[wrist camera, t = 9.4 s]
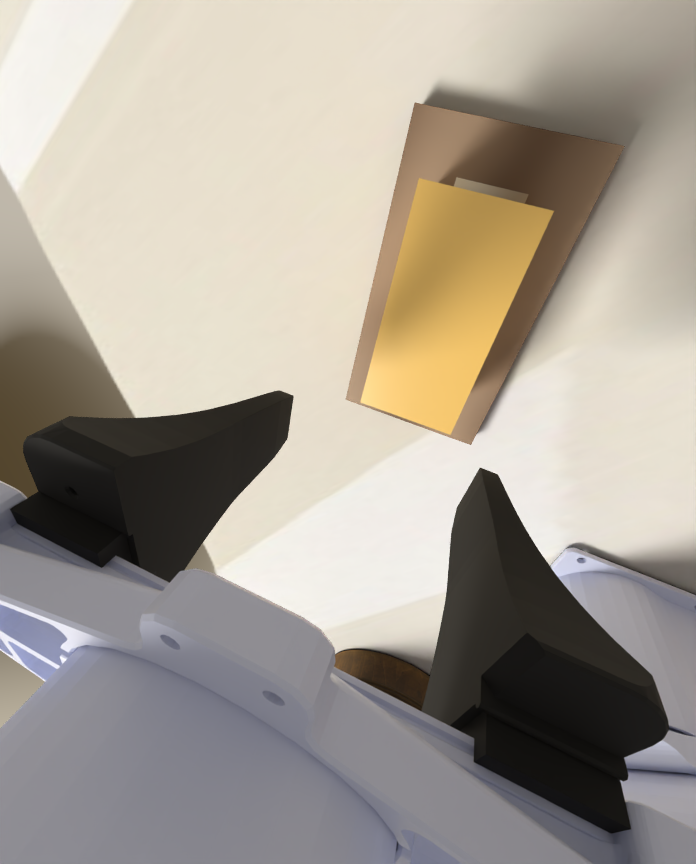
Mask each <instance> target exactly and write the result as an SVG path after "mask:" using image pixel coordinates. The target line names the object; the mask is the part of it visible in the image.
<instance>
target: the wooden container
mask: <svg viewBox="0 0 696 864" xmlns="http://www.w3.org/2000/svg"><path fill="white" fill-rule="evenodd" d="M335 661H336V662H335V665H334V667H335V668H337V669H339V670H341V671H343V672H345V673H347V674H349V675H351V676H353V677H355V678H357V679H359V680H361V681H363V682H365V683H367V684H369V685H370V686H372V687H374V688H376V689H378V690H380V691H382V692H384V693H386V694H388V695H390V696H392V697H394V698H396V699H398V700H400V701H402V702H404V703H406V704H408V705H410V706H412V707H414V708H416V709H417V710H419V711H422V707H423V703H424V699H425V695H426V691H427V687H428V682H429V678H430V676H428V675H427V674H425V673H424V672H423V671H421V670H419V669H418V668H416V667H414V666H412V665H410V664H408V663H406V662H404V661H402V660H400V659H397V658H394V657H392V656H389V655H386V654H382V653H378V652H373V651H367V650H347V651H343V652H340V653H338V654H336V655H335Z"/></svg>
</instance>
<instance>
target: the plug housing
mask: <svg viewBox="0 0 696 864" xmlns="http://www.w3.org/2000/svg"><path fill="white" fill-rule="evenodd" d="M553 212H554V211H552V210H548V209H544V208H540V207H536V206H532V205H528V204H523V203H519V202H515V201H511V200H507V199H503V198H499V197H495V196H491V195H487V194H482V193H478V192H474V191H470V190H466V189H462V188H458V187H454V186H450V185H445V184H441V183H437V182H433V181H429V180H425V179H421V178H419V180H418V184H417V187H416V191H415V195H414V199H413V203H412V207H411V210H410V214H409V218H408V222H407V226H406V230H405V233H404V237H403V241H402V245H401V249H400V252H399V256H398V260H397V264H396V268H395V272H394V275H393V279H392V283H391V287H390V291H389V294H388V298H387V302H386V306H385V310H384V314H383V317H382V321H381V325H380V329H379V333H378V337H377V340H376V344H375V348H374V352H373V356H372V359H371V363H370V367H369V371H368V375H367V379H366V382H365V386H364V390H363V394H362V398H361V401H360V402H361V403H364V404H366V405H369V406H372V407H375V408H377V409H380V410H383V411H386V412H388V413H391V414H394V415H397V416H399V417H402V418H405V419H408V420H410V421H413V422H416V423H419V424H421V425H424V426H427V427H430V428H433V429H435V430H438V431H441V432H444V433H446V434H449V435H451V433H452V431H453V428H454V426H455V424H456V422H457V420H458V418H459V415H460V413H461V411H462V409H463V407H464V405H465V402H466V400H467V398H468V396H469V394H470V392H471V389H472V387H473V385H474V383H475V381H476V379H477V377H478V374H479V372H480V370H481V368H482V366H483V364H484V361H485V359H486V357H487V355H488V353H489V351H490V348H491V346H492V344H493V342H494V340H495V338H496V336H497V333H498V331H499V329H500V327H501V325H502V323H503V320H504V318H505V316H506V314H507V312H508V310H509V307H510V305H511V303H512V301H513V299H514V297H515V294H516V292H517V290H518V288H519V286H520V284H521V282H522V279H523V277H524V275H525V273H526V271H527V269H528V266H529V264H530V262H531V260H532V258H533V256H534V253H535V251H536V249H537V247H538V245H539V243H540V240H541V238H542V236H543V234H544V232H545V230H546V228H547V225H548V223H549V221H550V219H551V217H552V215H553Z"/></svg>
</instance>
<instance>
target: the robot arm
mask: <svg viewBox="0 0 696 864" xmlns="http://www.w3.org/2000/svg"><path fill="white" fill-rule="evenodd" d="M292 403H293V396H292V395H290V394H287V393H285V392H282V391H274V392H271V393H267V394H264V395H260V396H257V397H254V398H250V399H247V400H244V401H240V402H237V403H233V404H229V405H225V406H221V407H217V408H213V409H209V410H204V411H199V412H193V413H187V414H180V415H171V416H160V417H148V418H92V417H90V418H89V417H73V416H69V417H67V418H65V419H63V420H61V421H59V422H57V423H54V424H52V425H50V426H48V427H46V428H44V429H42V430H40V431H38V432H36V433H34V434H32V435H30V436H28V437H27V438H26V440H25V441H24V445H23V453H24V456H25V459H26V462H27V465H28V467H29V470H30V472H31V474H32V477H33V479H34V482H35V484H36V486H37V489H38V491H39V492H37V493H35V494H34V495H32V496H31V497H29V498H27V497H26V496H25V495H24V494H23V493H22V492H20V491H19V490H17V489H16V488H14V487H12V486H10V485H8V484H6V483H4V482H2V481H0V650H1V651H2V652H4V653H5V654H6V655H8V656H9V657H11V658H12V659H14V660H15V661H16V662H18V663H19V664H21V665H23V666H24V667H25V668H27V669H28V670H29V671H31V672H32V673H34V674H35V675H37V676H38V677H39V678H41V679H42V680H44V681H45V682H44V684H43V685H42V686H41V687H40V688H39V689H38V690H37V691H36V692H35V693H34V694H33V695H32V696H31V697H30V698H29V699H28V700H27V701H26V702H25V703H24V704H23V705H22V706H21V707H20V708H19V710H18V711H17V712H16V713H15V714H14V715H13V716H12V717H11V718H10V719H9V720H8V721H7V722H6V723H5V724H4V725H3V726H2V727H1V728H0V864H696V595H694V594H691V593H689V592H686V591H684V590H681V589H679V588H676V587H674V586H671V585H668V584H666V583H663V582H661V581H658V580H656V579H653V578H651V577H648V576H646V575H643V574H640V573H638V572H635V571H633V570H630V569H628V568H625V567H623V566H620V565H618V564H615V563H612V562H610V561H607V560H605V559H602V558H600V557H597V556H595V555H592V554H590V553H587V552H584V551H582V550H579V549H577V548H567V549H566V550H564V551H563V553H562V554H561V555H560V556H559V557H558V558H557V559H556V560H555V561H554V562H553V564H552V565H551V566H549V564H548V563H547V562H546V560H545V559H544V557H543V556H542V555H541V553H540V552H539V550H538V549H537V547H536V546H535V544H534V542H533V541H532V539H531V537H530V536H529V534H528V532H527V531H526V529H525V527H524V526H523V524H522V522H521V520H520V518H519V516H518V515H517V513H516V511H515V509H514V507H513V505H512V503H511V501H510V499H509V497H508V495H507V493H506V491H505V488H504V486H503V484H502V482H501V480H500V478H499V476H498V474H495V473H493V472H490V471H487V470H485V469H482V468H480V469H479V471H478V472H477V474H476V476H475V477H474V479H473V481H472V483H471V484H470V486H469V488H468V490H467V491H466V493H465V495H464V496H463V498H462V500H461V502H460V503H459V505H458V507H457V510H456V514H455V518H454V523H453V528H452V533H451V544H450V557H449V570H448V583H447V593H446V601H445V606H444V611H443V617H442V622H441V627H440V632H439V637H438V642H437V646H436V651H435V656H434V660H433V665H432V669H431V673H430V678H429V682H428V687H427V691H426V695H425V699H424V703H423V707H422V711H419V710H417V709H416V708H414V707H412V706H410V705H408V704H406V703H404V702H402V701H400V700H398V699H396V698H394V697H392V696H390V695H388V694H386V693H384V692H382V691H380V690H378V689H376V688H374V687H372V686H370V685H369V684H367V683H365V682H363V681H361V680H359V679H357V678H355V677H353V676H351V675H349V674H347V673H345V672H343V671H341V670H339V669H337V668H335V667H334V665H335V662H336V661H335V650H334V647H333V645H332V643H331V642H330V640H329V639H328V638H327V637H326V635H325V634H324V633H323V632H322V630H321V629H319V628H318V627H316V626H315V625H313V624H312V623H310V622H309V621H307V620H306V619H304V618H303V617H301V616H299V615H297V614H295V613H293V612H291V611H289V610H287V609H285V608H283V607H281V606H279V605H277V604H275V603H273V602H271V601H269V600H267V599H265V598H263V597H261V596H259V595H256V594H254V593H252V592H250V591H248V590H246V589H244V588H242V587H240V586H238V585H236V584H234V583H232V582H230V581H228V580H226V579H224V578H222V577H220V576H218V575H216V574H214V573H210V572H207V571H204V570H201V569H190V570H184V569H185V568H186V566H187V565H188V563H189V562H190V561H191V559H192V557H193V556H194V555H195V553H196V551H197V550H198V548H199V547H200V546H201V544H202V543H203V541H204V540H205V539H206V537H207V536H208V534H209V533H210V532H211V530H212V529H213V527H214V526H215V525H216V523H217V522H218V521H219V519H220V518H221V517H222V515H223V514H224V513H225V511H226V510H227V509H228V507H229V506H230V505H231V503H232V502H233V501H234V500H235V499H236V498H237V497H238V495H239V494H240V493H241V492H242V491H243V490H244V489H245V488H246V487H247V486H248V485H249V484H250V483H251V482H252V481H253V480H254V479H255V477H256V476H257V475H258V474H259V473H260V472H261V471H262V470H263V469H264V468H265V467H266V466H267V465H268V464H269V463H270V461H271V460H272V459H273V458H274V457H275V456H276V454H277V453H278V451H279V450H280V449H281V447H282V446H283V444H284V443H285V441H286V440H287V438H288V431H289V424H290V417H291V410H292ZM580 558H582V559H580Z"/></svg>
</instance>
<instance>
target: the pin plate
mask: <svg viewBox="0 0 696 864" xmlns="http://www.w3.org/2000/svg"><path fill="white" fill-rule="evenodd" d="M624 147H625V146H622V145H617V144H612V143H607V142H602V141H597V140H593V139H588V138H583V137H578V136H573V135H569V134H564V133H559V132H554V131H549V130H544V129H540V128H535V127H530V126H525V125H520V124H516V123H511V122H506V121H501V120H496V119H491V118H487V117H482V116H477V115H472V114H467V113H463V112H458V111H453V110H448V109H443V108H438V107H434V106H429V105H424V104H419V103H415V104H414V108H413V112H412V117H411V121H410V125H409V130H408V134H407V138H406V143H405V147H404V151H403V155H402V160H401V164H400V168H399V173H398V177H397V181H396V186H395V190H394V194H393V198H392V203H391V207H390V211H389V216H388V220H387V224H386V229H385V233H384V237H383V241H382V246H381V250H380V254H379V259H378V263H377V267H376V272H375V276H374V280H373V284H372V289H371V293H370V297H369V302H368V306H367V310H366V314H365V319H364V323H363V327H362V332H361V336H360V340H359V345H358V349H357V353H356V357H355V362H354V366H353V370H352V375H351V379H350V383H349V388H348V392H347V396H346V400H349V401H351V402H354V403H357V404H360V405H362V406H365V407H368V408H371V409H373V410H376V411H379V412H382V413H384V414H387V415H390V416H393V417H395V418H398V419H401V420H404V421H406V422H409V423H412V424H415V425H417V426H420V427H423V428H426V429H428V430H431V431H434V432H437V433H439V434H442V435H445V436H448V437H450V438H453V439H456V440H459V441H461V442H464V443H467V444H470V445H471V444H472V442H473V440H474V438H475V436H476V434H477V432H478V430H479V428H480V426H481V424H482V422H483V420H484V418H485V416H486V414H487V413H488V411H489V409H490V407H491V405H492V403H493V401H494V399H495V397H496V395H497V393H498V391H499V389H500V387H501V385H502V383H503V381H504V380H505V378H506V376H507V374H508V372H509V370H510V368H511V366H512V364H513V362H514V360H515V358H516V356H517V354H518V352H519V350H520V348H521V347H522V345H523V343H524V341H525V339H526V337H527V335H528V333H529V331H530V329H531V327H532V325H533V323H534V321H535V319H536V317H537V315H538V314H539V312H540V310H541V308H542V306H543V304H544V302H545V300H546V298H547V296H548V294H549V292H550V290H551V288H552V286H553V284H554V282H555V281H556V279H557V277H558V275H559V273H560V271H561V269H562V267H563V265H564V263H565V261H566V259H567V257H568V255H569V253H570V251H571V249H572V248H573V246H574V244H575V242H576V240H577V238H578V236H579V234H580V232H581V230H582V228H583V226H584V224H585V222H586V220H587V218H588V216H589V215H590V213H591V211H592V209H593V207H594V205H595V203H596V201H597V199H598V197H599V195H600V193H601V191H602V189H603V187H604V185H605V183H606V182H607V180H608V178H609V176H610V174H611V172H612V170H613V168H614V166H615V164H616V162H617V160H618V158H619V156H620V154H621V152H622V150H623V149H624ZM419 178H421V179H425V180H429V181H433V182H437V183H441V184H445V185H450V186H454V187H458V188H462V189H466V190H470V191H474V192H478V193H482V194H487V195H491V196H495V197H499V198H503V199H507V200H511V201H515V202H519V203H523V204H528V205H532V206H536V207H540V208H544V209H548V210H552V211H554V212H553V215H552V217H551V219H550V221H549V223H548V225H547V228H546V230H545V232H544V234H543V236H542V238H541V240H540V243H539V245H538V247H537V249H536V251H535V253H534V256H533V258H532V260H531V262H530V264H529V266H528V269H527V271H526V273H525V275H524V277H523V279H522V282H521V284H520V286H519V288H518V290H517V292H516V294H515V297H514V299H513V301H512V303H511V305H510V307H509V310H508V312H507V314H506V316H505V318H504V320H503V323H502V325H501V327H500V329H499V331H498V333H497V336H496V338H495V340H494V342H493V344H492V346H491V348H490V351H489V353H488V355H487V357H486V359H485V361H484V364H483V366H482V368H481V370H480V372H479V374H478V377H477V379H476V381H475V383H474V385H473V387H472V389H471V392H470V394H469V396H468V398H467V400H466V402H465V405H464V407H463V409H462V411H461V413H460V415H459V418H458V420H457V422H456V424H455V426H454V428H453V431H452V433H451V435H449V434H446V433H444V432H441V431H438V430H435V429H433V428H430V427H427V426H424V425H421V424H419V423H416V422H413V421H410V420H408V419H405V418H402V417H399V416H397V415H394V414H391V413H388V412H386V411H383V410H380V409H377V408H375V407H372V406H369V405H366V404H364V403H361V402H360V401H361V398H362V394H363V390H364V386H365V382H366V379H367V375H368V371H369V367H370V363H371V359H372V356H373V352H374V348H375V344H376V340H377V337H378V333H379V329H380V325H381V321H382V317H383V314H384V310H385V306H386V302H387V298H388V294H389V291H390V287H391V283H392V279H393V275H394V272H395V268H396V264H397V260H398V256H399V252H400V249H401V245H402V241H403V237H404V233H405V230H406V226H407V222H408V218H409V214H410V210H411V207H412V203H413V199H414V195H415V191H416V187H417V184H418V180H419Z"/></svg>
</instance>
